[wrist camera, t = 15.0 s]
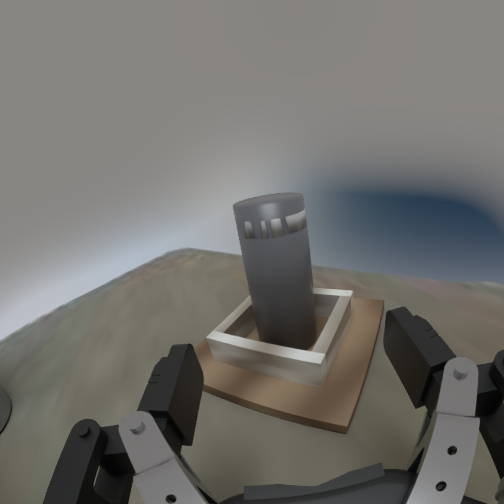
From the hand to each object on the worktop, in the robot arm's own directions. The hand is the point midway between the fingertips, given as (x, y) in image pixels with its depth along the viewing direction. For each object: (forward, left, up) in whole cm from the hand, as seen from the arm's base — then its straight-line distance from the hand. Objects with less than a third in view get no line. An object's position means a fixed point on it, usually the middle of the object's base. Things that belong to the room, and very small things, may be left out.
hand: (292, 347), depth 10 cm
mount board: (-5, +9, -9) cm, 14 cm away
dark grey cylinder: (-5, +9, -8) cm, 13 cm away
